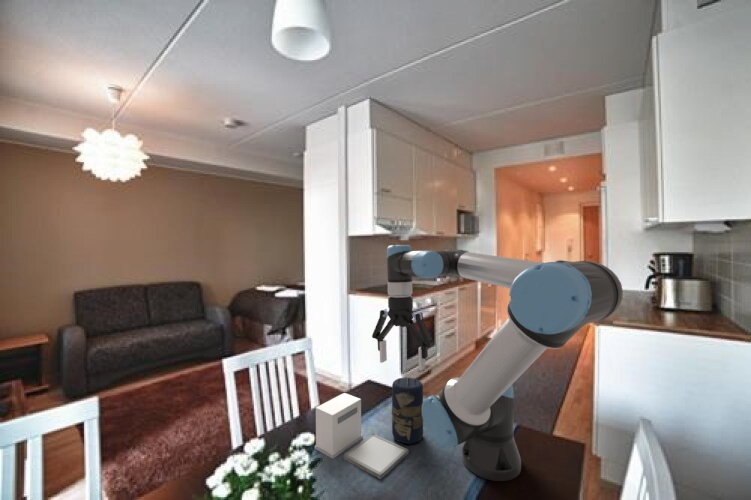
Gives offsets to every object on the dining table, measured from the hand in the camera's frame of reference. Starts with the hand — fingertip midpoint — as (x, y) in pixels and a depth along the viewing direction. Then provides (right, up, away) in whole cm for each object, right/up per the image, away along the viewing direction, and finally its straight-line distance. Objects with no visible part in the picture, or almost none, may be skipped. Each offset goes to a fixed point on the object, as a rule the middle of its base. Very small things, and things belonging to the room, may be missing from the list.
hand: (402, 365), depth 100 cm
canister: (+2, -23, +1) cm, 23 cm away
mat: (-8, -23, -8) cm, 25 cm away
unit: (-19, -23, -2) cm, 30 cm away
